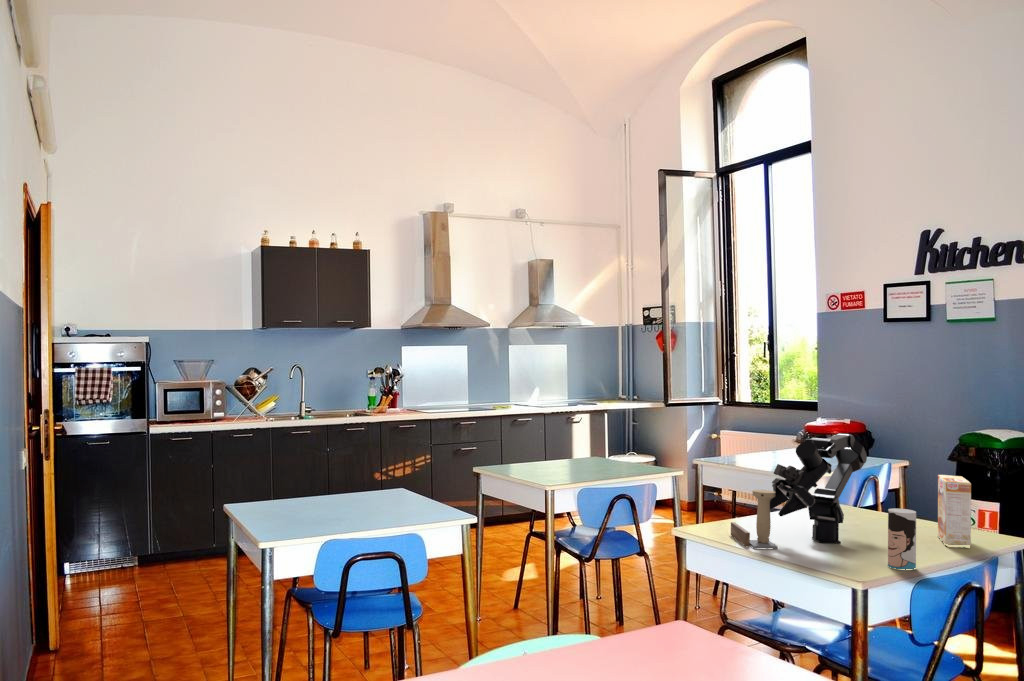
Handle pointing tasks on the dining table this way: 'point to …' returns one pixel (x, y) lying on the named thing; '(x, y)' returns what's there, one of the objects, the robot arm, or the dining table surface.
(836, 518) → the robot arm
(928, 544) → the dining table surface
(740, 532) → the walnut fence
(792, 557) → the dining table surface
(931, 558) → the dining table surface
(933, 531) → the dining table surface
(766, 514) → the handle
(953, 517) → the coffeecake box
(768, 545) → the end pad
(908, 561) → the cup
